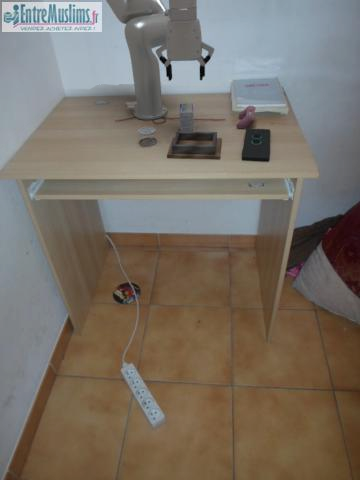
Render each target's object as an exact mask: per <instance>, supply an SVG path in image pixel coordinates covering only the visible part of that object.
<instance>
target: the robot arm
mask: <svg viewBox="0 0 360 480" xmlns="http://www.w3.org/2000/svg"><path fill="white" fill-rule="evenodd" d="M105 1H106V3H107V4H108V6H109V8H110V10H112V12H113V14H114V16H115V17H116V18H117V20H118V21H119V23H122V24H124V25H125V26H124V36H125V37H124V38H125V40H126V44H127V48H128V52H129V57H130V61H131V63H130V64H131V70H132V71H131V72H132V77H133V85H134V92H135V101H126V102H125V107H126V108H127V109H128V110H133V115H134V117H135V118H136V119H139V120H144V121H147V120H148V121H149V120H150V121H152V120H157V119H160V118H162V117H165V116H166V115H167V112H168V110H167V107H166V106H164V105H163V98H162V97H163V96H162V81H161V70H160V63H159V61H160V62H161V64H162V65H164V67H165V72H166V78H167V79H168V82H171V81H172V79H173V69H172V68H173V67H172V64H171V63H172V62H181V61H183V62H186V61H187V62H188V61H191V62H192V61H197V62H198V63H199V80H200V81H203V78H204V77H206V65H207V63H208V62H209V61H211V58H212V57H213V54H214V53H215V47H212V46H211V45H209V44H207V43H206V42H204V41H202V40H203V39H202V38H203V37H202V28H201V27H202V26H201V22H200V19H199V18H198V12H197V11H198V10H197V9H198V8H197V6H198V5H197V4H198V2H197V0H168V9H167V8H166V6H165V5H164V3H163V1H162V0H105ZM155 48H157V49H156V50H155V53H154V52H153V49H155ZM203 50H205V51H207V52H208V53H207V55H206V56H205V57H204V56H203V55H202V54H203ZM164 51H166V57H165V56H164V55H163V52H164ZM155 54H156V55H157V56H156V55H155ZM158 59H159V60H158Z"/></svg>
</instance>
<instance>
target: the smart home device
mask: <svg viewBox="0 0 360 480" xmlns="http://www.w3.org/2000/svg"><path fill="white" fill-rule="evenodd" d="M243 139H244V140H243V146H242V150H241V160H242V161H244V162H249V161H250V162H260V163H261V162H263V163H268V162H269V161H270V156H271V129H269V128H245V134H244V138H243Z"/></svg>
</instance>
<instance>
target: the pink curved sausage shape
mask: <svg viewBox="0 0 360 480" xmlns="http://www.w3.org/2000/svg"><path fill="white" fill-rule="evenodd" d="M255 112H256V107H255V106H254V105H251V104H250V105H248V106H247V107H246V108H244V109H243V110H242V111H241V112H239V114H238V116H237V117H238V119H240V121H238V122H237V123H236V128H237V129H245V128H246V127H248V126H249V125H250V124H251V123H253V122H255V121H256V119H255Z"/></svg>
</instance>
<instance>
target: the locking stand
mask: <svg viewBox="0 0 360 480" xmlns="http://www.w3.org/2000/svg"><path fill="white" fill-rule="evenodd" d="M222 142H223V138H222V137H218V132H216V131H194V132H181V131H175V135H174V137H173V136H172V139H171V141H170V145H169V147H168V150H167V154H166V158H167V159H193V160H194V159H195V160H197V159H198V160H199V159H200V160H220V159H221V150H222V145H223V144H222Z"/></svg>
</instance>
